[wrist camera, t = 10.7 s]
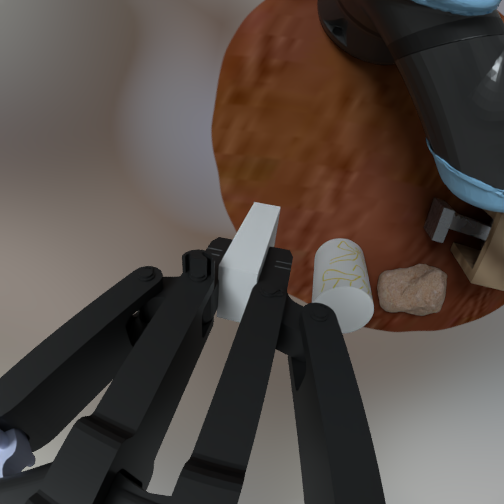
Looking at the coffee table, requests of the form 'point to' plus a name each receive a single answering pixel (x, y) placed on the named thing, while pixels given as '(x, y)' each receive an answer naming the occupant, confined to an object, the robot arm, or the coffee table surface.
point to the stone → (412, 289)
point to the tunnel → (485, 256)
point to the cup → (343, 283)
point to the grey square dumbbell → (453, 223)
